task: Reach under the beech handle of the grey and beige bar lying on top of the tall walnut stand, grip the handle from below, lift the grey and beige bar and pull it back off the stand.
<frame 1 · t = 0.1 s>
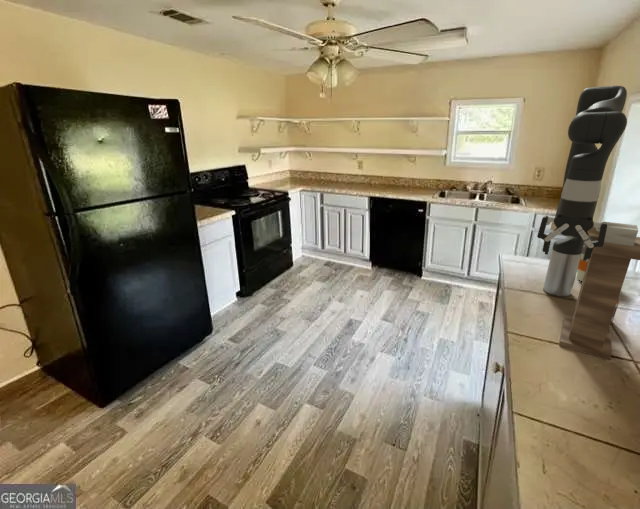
hand: (564, 256, 91), 29 cm above the worktop, tool pointing down, fingers open, 8 cm apart
supplement bottle: (601, 320, 115), on the worktop
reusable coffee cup: (589, 280, 143), on the worktop
grey and beige bar: (615, 241, 94), point 32 cm above the worktop, touching stand
stand: (584, 337, 105), on the worktop
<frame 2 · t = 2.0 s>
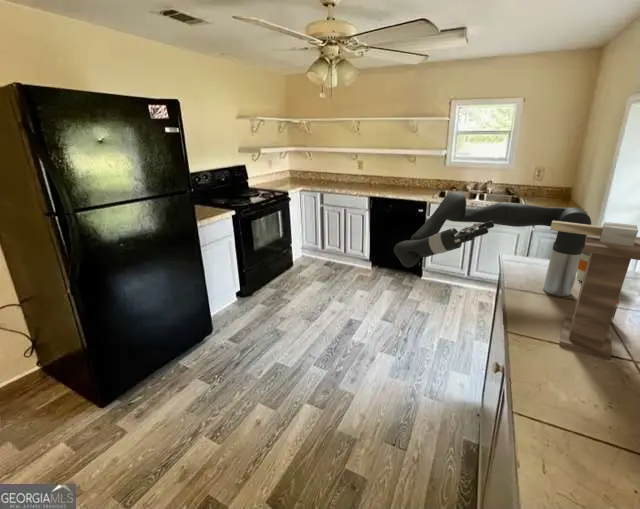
hand: (490, 226, 112), 31 cm above the worktop, tool pointing upward, fingers open, 8 cm apart
nothing on the worktop moved.
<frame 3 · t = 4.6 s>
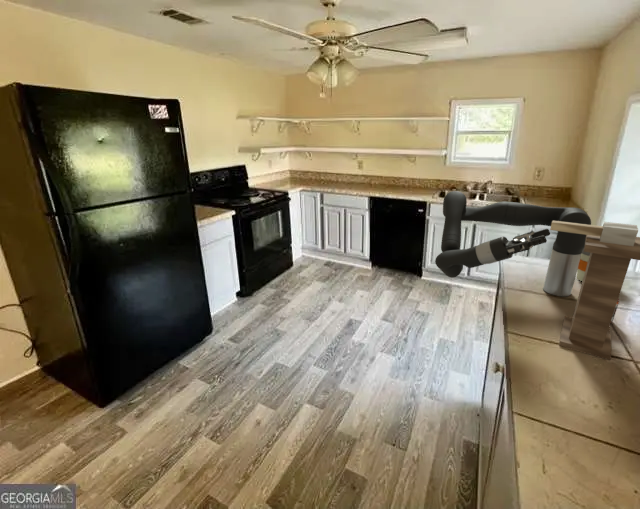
hand: (547, 234, 103), 31 cm above the worktop, tool pointing upward, fingers open, 8 cm apart
nothing on the worktop moved.
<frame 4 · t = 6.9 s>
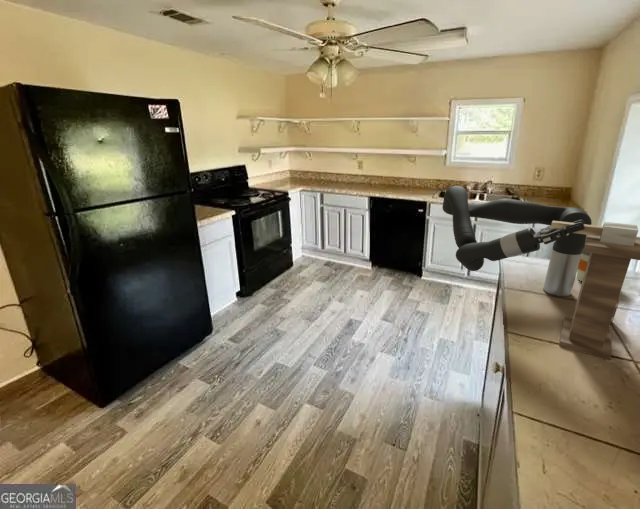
hand: (583, 224, 97), 36 cm above the worktop, tool pointing upward, fingers closed on grey and beige bar, 2 cm apart
grey and beige bar: (615, 241, 94), point 32 cm above the worktop, touching gripper, stand
everything else where it was.
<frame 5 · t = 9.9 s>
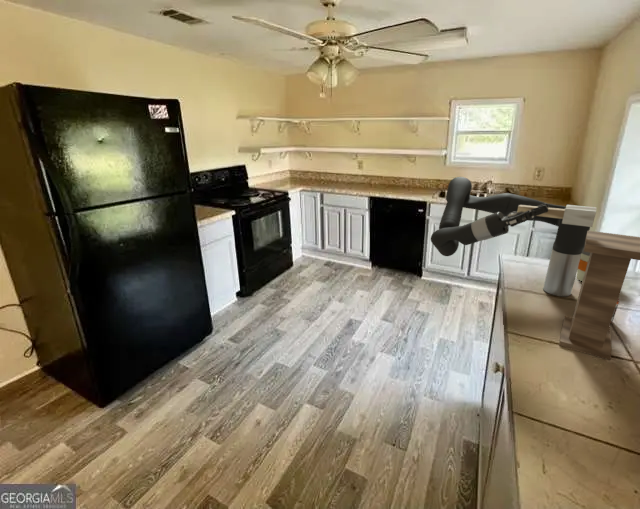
hand: (547, 207, 101), 40 cm above the worktop, tool pointing upward, fingers closed on grey and beige bar, 2 cm apart
grey and beige bar: (577, 222, 98), point 36 cm above the worktop, touching gripper
everything else where it was.
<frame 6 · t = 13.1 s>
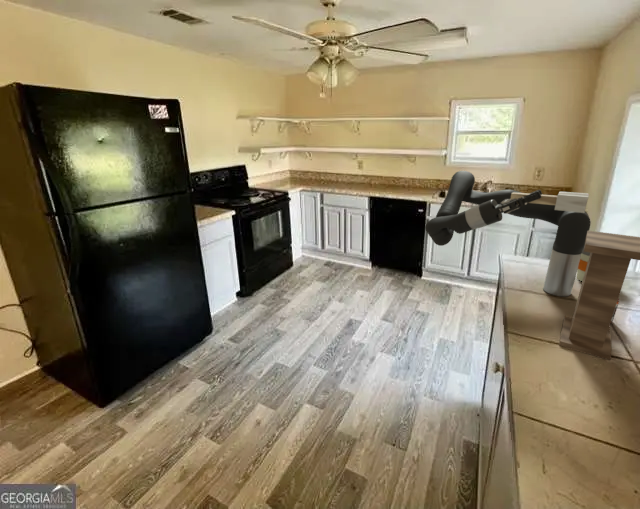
hand: (540, 193, 101), 43 cm above the worktop, tool pointing upward, fingers closed on grey and beige bar, 2 cm apart
grey and beige bar: (569, 209, 98), point 40 cm above the worktop, touching gripper
everything else where it was.
at the end: grey and beige bar touching gripper; grey and beige bar inside the target area (0.0 cm from its centre), point 39.6 cm above the worktop; the gripper is holding grey and beige bar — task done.
